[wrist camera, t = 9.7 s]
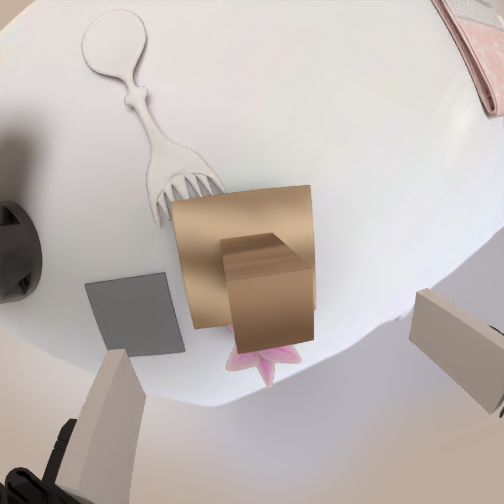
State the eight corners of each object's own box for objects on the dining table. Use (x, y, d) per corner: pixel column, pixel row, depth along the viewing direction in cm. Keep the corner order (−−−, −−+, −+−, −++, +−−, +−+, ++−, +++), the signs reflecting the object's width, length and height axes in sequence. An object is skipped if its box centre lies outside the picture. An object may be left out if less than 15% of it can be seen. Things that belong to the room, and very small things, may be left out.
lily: (291, 348, 40) (329, 355, 31) (227, 390, 35) (252, 411, 26) (256, 281, 40) (288, 271, 32) (186, 318, 35) (198, 321, 27)
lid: (172, 201, 23) (138, 218, 12) (306, 185, 24) (372, 191, 13) (195, 324, 26) (188, 404, 15) (312, 305, 27) (362, 370, 17)
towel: (480, 5, 25) (492, 1, 20) (526, 107, 35) (539, 106, 29) (414, -17, 25) (428, -26, 19) (483, 119, 34) (503, 118, 29)
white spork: (162, 226, 32) (156, 231, 29) (80, 39, 23) (71, 30, 19) (227, 191, 32) (229, 193, 29) (134, 7, 23) (129, -4, 20)
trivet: (112, 355, 35) (111, 357, 35) (85, 283, 32) (84, 285, 31) (185, 350, 36) (184, 352, 36) (165, 272, 33) (164, 273, 33)
